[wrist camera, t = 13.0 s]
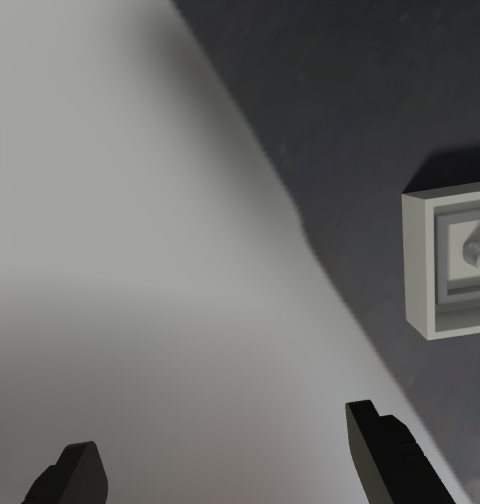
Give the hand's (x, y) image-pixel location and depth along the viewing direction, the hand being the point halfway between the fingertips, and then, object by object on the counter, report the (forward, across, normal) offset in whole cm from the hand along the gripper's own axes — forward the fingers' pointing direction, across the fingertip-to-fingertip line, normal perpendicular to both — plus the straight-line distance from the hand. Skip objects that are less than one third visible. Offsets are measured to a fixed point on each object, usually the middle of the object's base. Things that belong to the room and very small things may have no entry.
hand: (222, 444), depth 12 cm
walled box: (+30, -26, +6) cm, 41 cm away
